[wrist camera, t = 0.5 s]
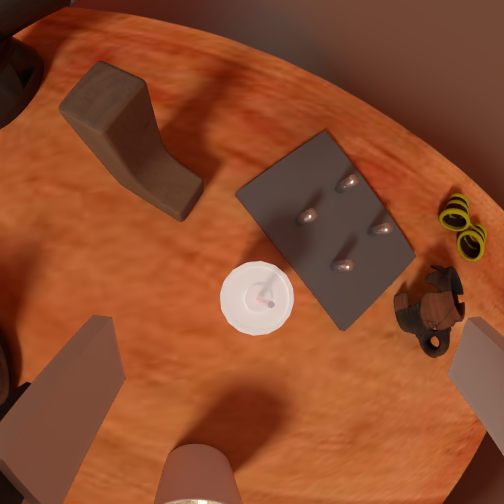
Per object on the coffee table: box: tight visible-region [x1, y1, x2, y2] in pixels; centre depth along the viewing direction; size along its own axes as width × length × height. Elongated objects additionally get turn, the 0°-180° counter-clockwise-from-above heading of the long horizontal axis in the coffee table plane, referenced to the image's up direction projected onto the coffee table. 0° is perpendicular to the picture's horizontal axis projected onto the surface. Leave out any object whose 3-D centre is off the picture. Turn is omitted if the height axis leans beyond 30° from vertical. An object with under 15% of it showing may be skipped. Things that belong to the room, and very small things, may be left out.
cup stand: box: [235, 130, 416, 331], centre depth 33 cm, size 20×14×5 cm
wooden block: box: [59, 61, 203, 222], centre depth 24 cm, size 9×4×18 cm, turn 59°
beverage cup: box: [220, 261, 294, 335], centre depth 27 cm, size 6×6×14 cm
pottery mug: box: [394, 265, 465, 358], centre depth 35 cm, size 12×10×8 cm
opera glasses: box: [439, 193, 487, 262], centre depth 38 cm, size 10×5×5 cm, turn 43°
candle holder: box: [154, 444, 243, 504], centre depth 25 cm, size 10×10×12 cm
